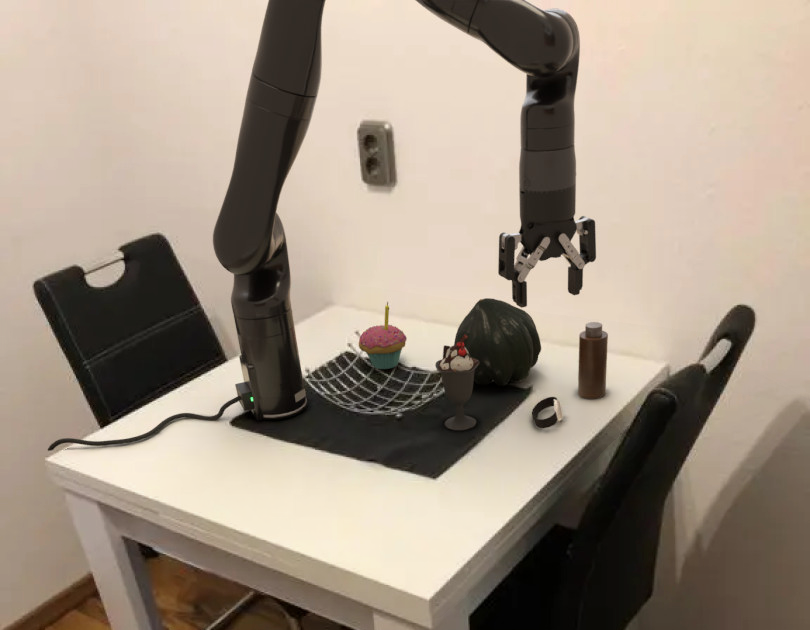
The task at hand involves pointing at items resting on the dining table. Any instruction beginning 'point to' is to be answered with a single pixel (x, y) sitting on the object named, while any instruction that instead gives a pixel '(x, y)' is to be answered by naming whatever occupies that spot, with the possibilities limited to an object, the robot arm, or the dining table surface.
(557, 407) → the watch
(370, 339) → the cupcake
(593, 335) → the pepper mill
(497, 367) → the squash
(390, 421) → the dining table surface
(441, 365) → the sundae
